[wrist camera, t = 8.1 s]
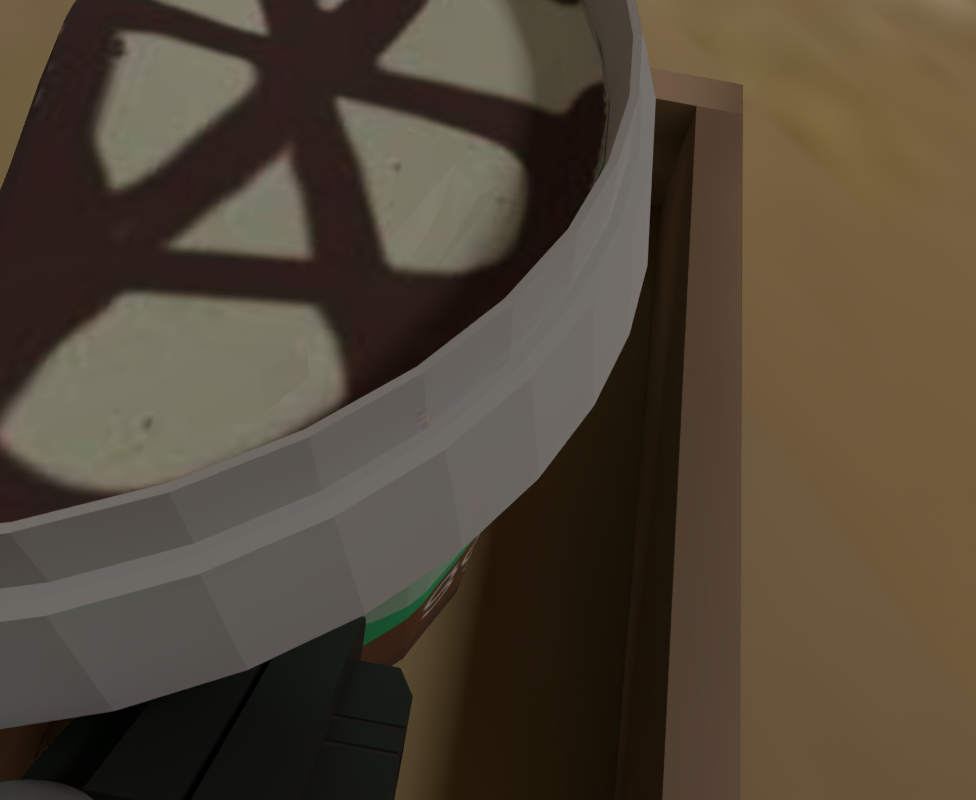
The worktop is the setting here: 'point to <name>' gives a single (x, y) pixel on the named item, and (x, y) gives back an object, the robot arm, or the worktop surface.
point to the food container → (296, 319)
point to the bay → (672, 470)
